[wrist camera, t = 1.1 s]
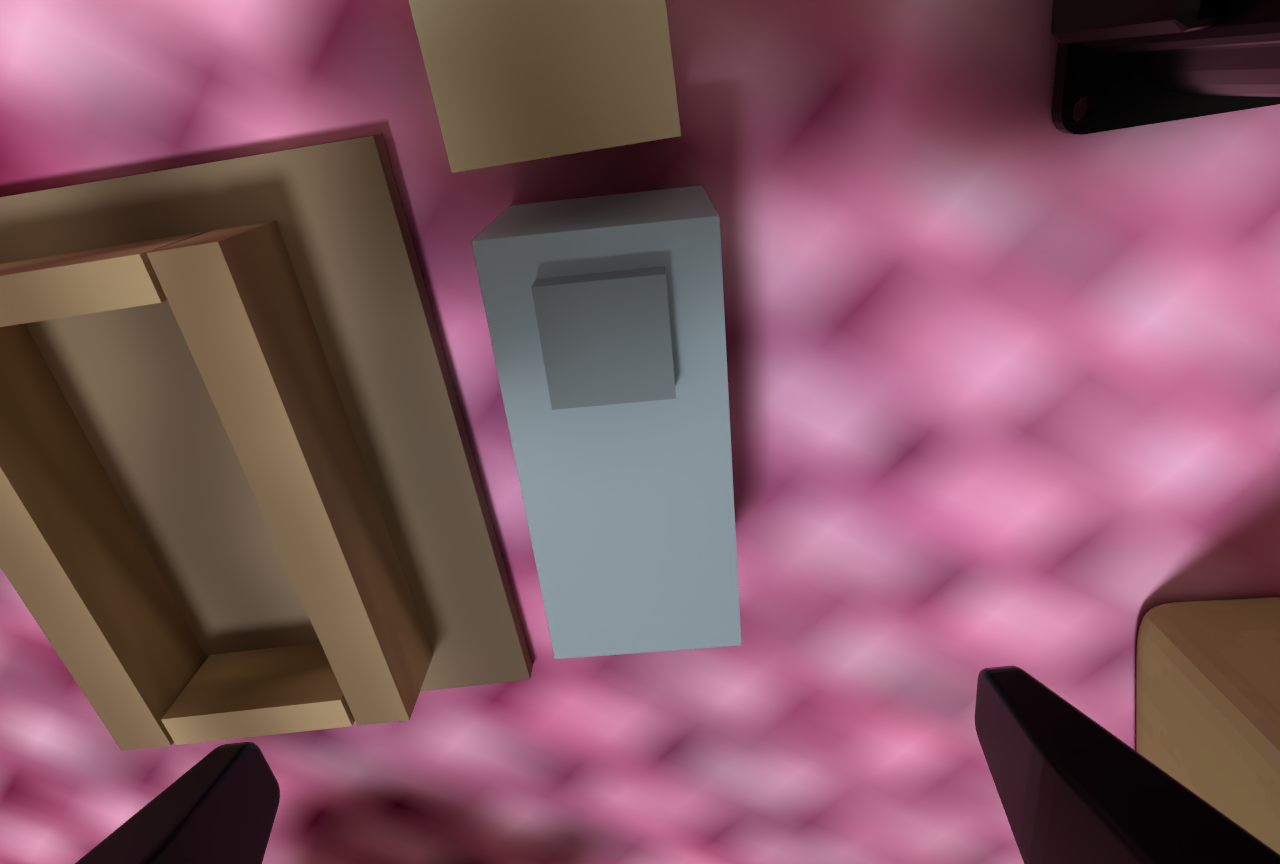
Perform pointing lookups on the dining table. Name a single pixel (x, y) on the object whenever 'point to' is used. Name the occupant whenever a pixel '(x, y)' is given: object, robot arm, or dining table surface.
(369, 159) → the tray
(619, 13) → the tan rectangular block
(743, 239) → the dining table surface
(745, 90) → the dining table surface
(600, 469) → the grey block
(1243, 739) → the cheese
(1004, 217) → the dining table surface
